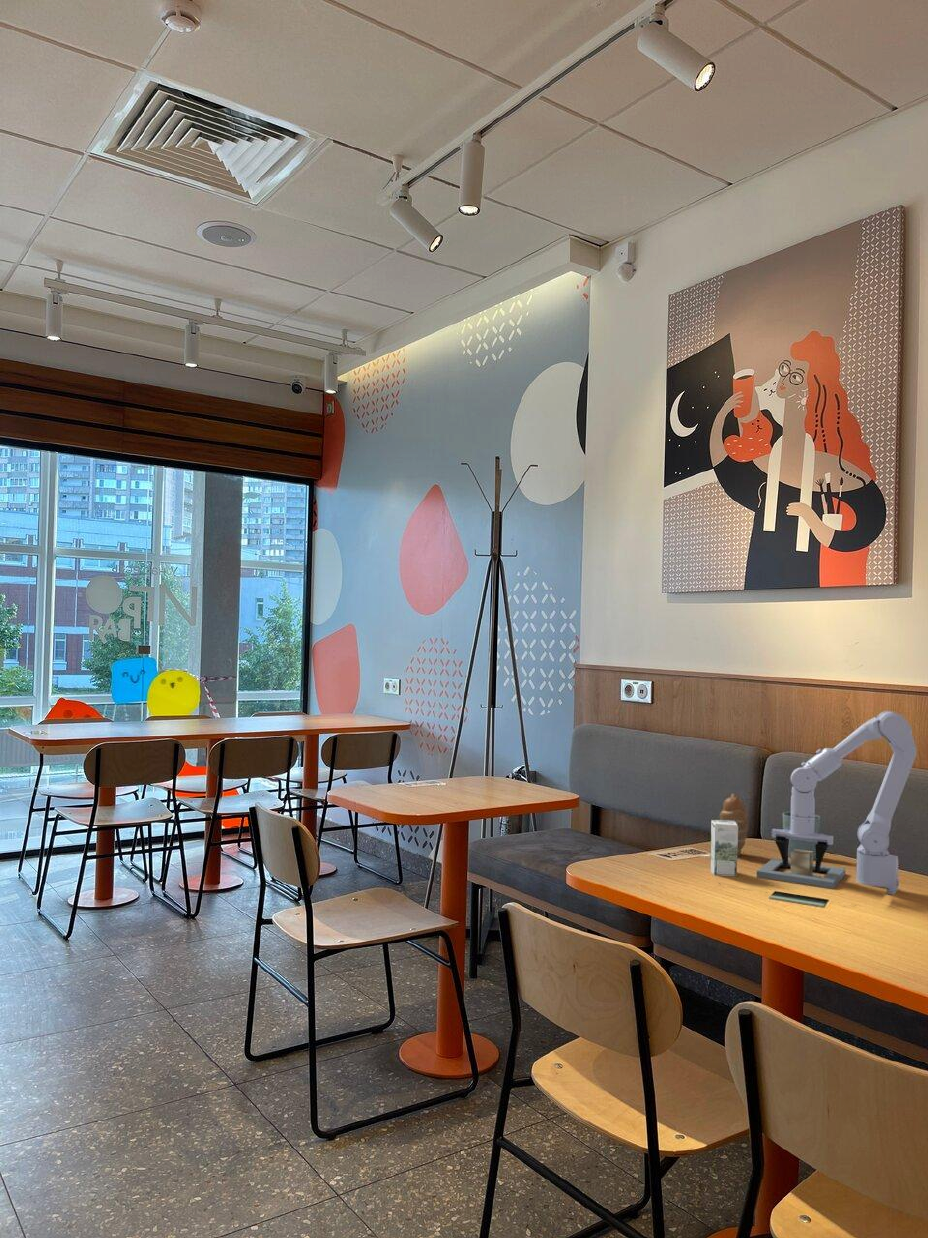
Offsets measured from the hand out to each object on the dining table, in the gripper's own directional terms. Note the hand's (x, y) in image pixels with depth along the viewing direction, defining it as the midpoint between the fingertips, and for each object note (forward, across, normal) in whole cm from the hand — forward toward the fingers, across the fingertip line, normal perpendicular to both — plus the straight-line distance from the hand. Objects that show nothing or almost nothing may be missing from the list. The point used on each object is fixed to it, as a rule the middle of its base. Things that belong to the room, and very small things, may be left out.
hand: (801, 869), depth 230 cm
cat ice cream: (+3, +21, -14) cm, 25 cm away
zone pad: (+3, -3, +17) cm, 18 cm away
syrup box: (+3, +17, +10) cm, 20 cm away
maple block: (+2, 0, 0) cm, 2 cm away
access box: (+3, 0, 0) cm, 3 cm away
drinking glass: (+3, +6, -30) cm, 31 cm away
